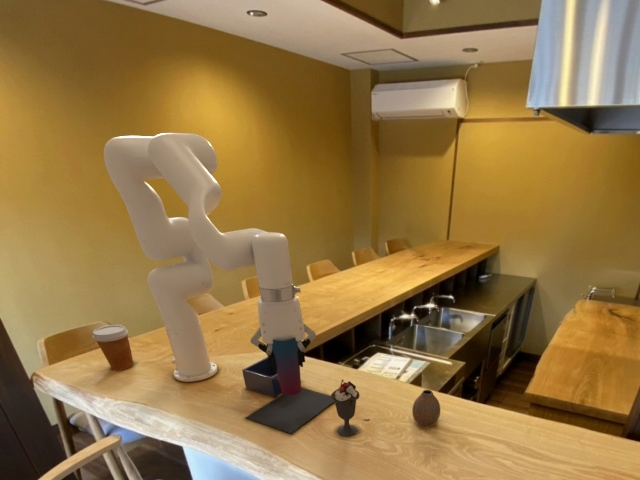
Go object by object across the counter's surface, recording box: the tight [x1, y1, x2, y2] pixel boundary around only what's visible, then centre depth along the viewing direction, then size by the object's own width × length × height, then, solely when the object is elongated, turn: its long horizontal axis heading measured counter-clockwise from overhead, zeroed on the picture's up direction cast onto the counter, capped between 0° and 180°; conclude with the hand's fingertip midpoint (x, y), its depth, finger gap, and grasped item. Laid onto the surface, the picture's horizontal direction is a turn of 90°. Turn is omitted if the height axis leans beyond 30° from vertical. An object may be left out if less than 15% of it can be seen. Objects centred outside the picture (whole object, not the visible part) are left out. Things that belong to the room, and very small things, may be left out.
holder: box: [241, 356, 283, 399], centre depth 121 cm, size 11×11×6 cm
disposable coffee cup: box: [92, 324, 135, 371], centre depth 131 cm, size 10×10×12 cm
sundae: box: [330, 379, 360, 438], centre depth 98 cm, size 7×7×15 cm
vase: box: [411, 389, 441, 428], centre depth 103 cm, size 7×7×9 cm
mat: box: [245, 386, 335, 435], centre depth 112 cm, size 15×20×1 cm
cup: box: [272, 338, 302, 395], centre depth 105 cm, size 7×7×15 cm
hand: (287, 365), depth 105 cm, fingers closed on cup, 6 cm apart
